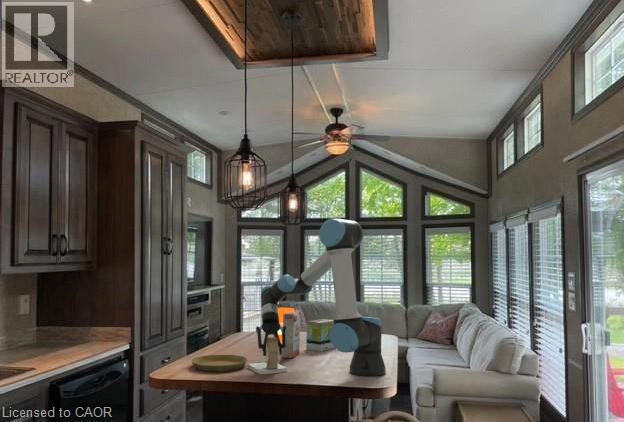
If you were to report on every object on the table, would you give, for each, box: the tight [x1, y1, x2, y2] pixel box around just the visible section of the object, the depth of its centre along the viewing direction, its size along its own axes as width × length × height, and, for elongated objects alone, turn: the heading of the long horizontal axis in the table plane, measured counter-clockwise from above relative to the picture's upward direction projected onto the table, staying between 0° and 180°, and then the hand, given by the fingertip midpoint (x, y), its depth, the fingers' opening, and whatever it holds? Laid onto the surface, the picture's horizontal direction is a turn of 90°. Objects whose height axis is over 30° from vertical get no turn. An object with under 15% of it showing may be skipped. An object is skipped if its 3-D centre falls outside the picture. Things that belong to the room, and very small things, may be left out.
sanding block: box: [266, 336, 278, 370], centre depth 206 cm, size 6×4×12 cm, turn 10°
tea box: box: [305, 318, 336, 352], centre depth 259 cm, size 15×10×15 cm, turn 143°
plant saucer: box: [191, 354, 248, 373], centre depth 214 cm, size 24×24×3 cm
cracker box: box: [281, 310, 301, 359], centre depth 240 cm, size 14×6×21 cm, turn 168°
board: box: [247, 361, 288, 376], centre depth 209 cm, size 14×12×2 cm
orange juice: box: [278, 307, 295, 344], centre depth 270 cm, size 8×9×20 cm
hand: (273, 361), depth 202 cm, fingers closed on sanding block, 4 cm apart
